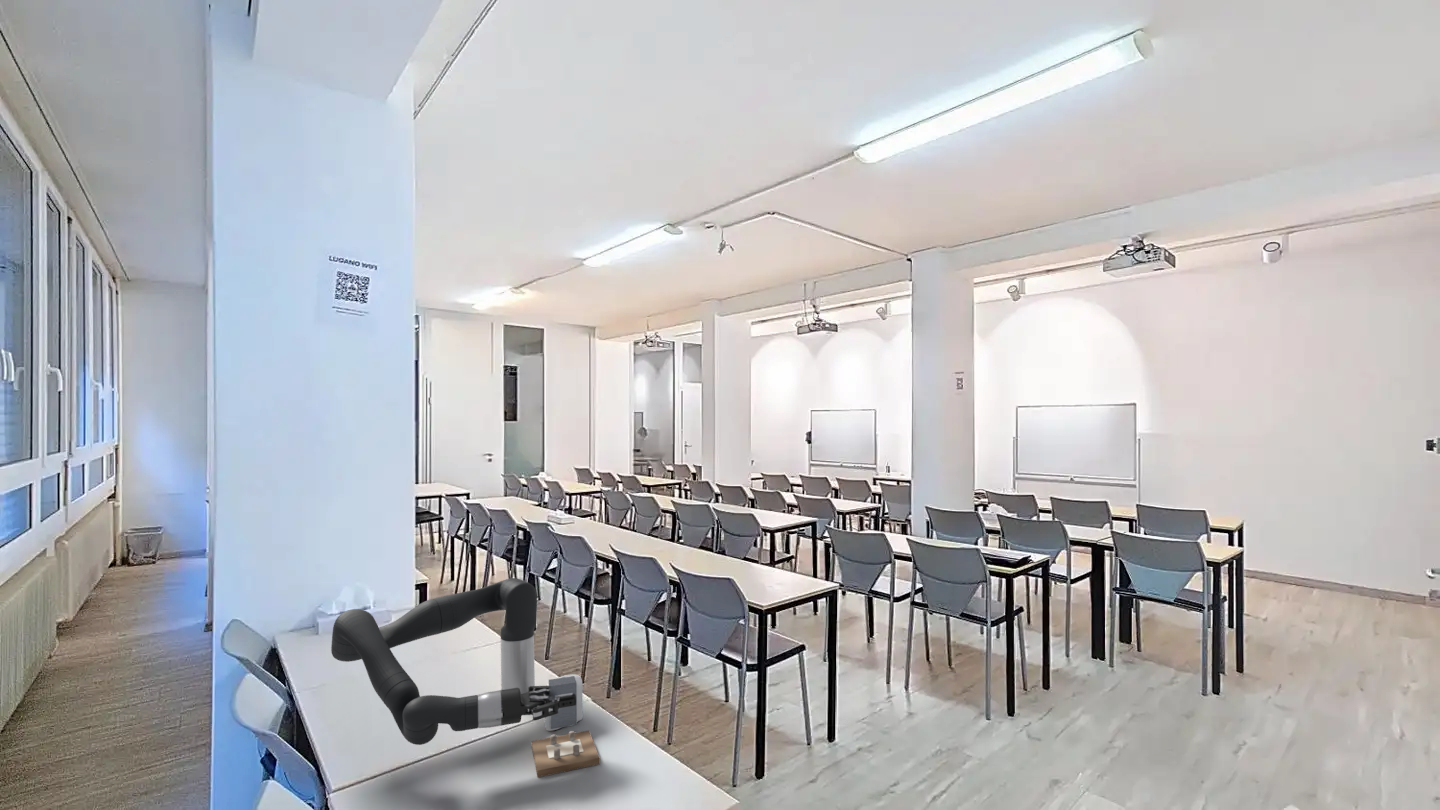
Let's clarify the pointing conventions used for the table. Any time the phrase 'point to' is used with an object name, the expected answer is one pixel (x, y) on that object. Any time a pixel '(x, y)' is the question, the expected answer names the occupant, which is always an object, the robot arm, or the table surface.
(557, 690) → the block
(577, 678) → the photo printer
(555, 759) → the pin tray
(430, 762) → the table surface
